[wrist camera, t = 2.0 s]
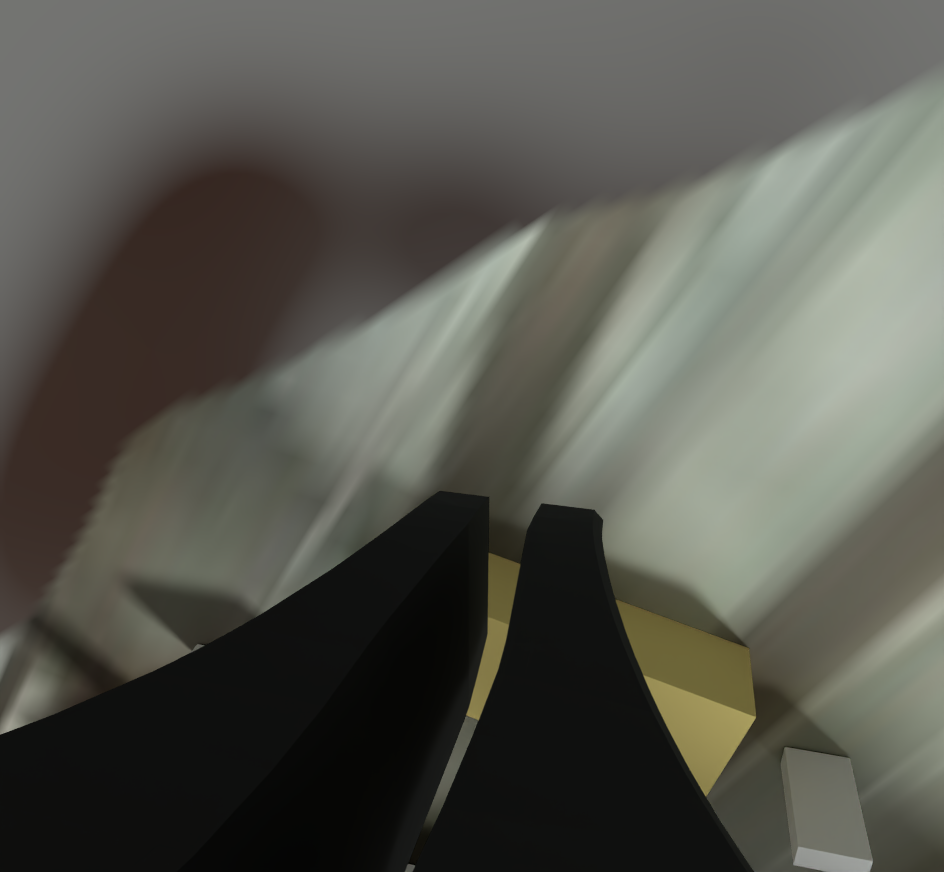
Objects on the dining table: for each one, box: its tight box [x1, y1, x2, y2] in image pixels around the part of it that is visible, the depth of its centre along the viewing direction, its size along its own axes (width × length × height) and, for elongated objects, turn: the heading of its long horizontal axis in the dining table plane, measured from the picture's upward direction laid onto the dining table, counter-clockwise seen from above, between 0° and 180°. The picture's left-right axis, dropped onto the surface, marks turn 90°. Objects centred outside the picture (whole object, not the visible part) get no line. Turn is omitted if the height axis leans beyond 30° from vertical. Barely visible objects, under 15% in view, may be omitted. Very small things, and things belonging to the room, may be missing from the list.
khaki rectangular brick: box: [466, 553, 756, 796], centre depth 19 cm, size 8×3×2 cm, turn 75°
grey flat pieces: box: [190, 644, 873, 872], centre depth 22 cm, size 18×8×3 cm, turn 90°
